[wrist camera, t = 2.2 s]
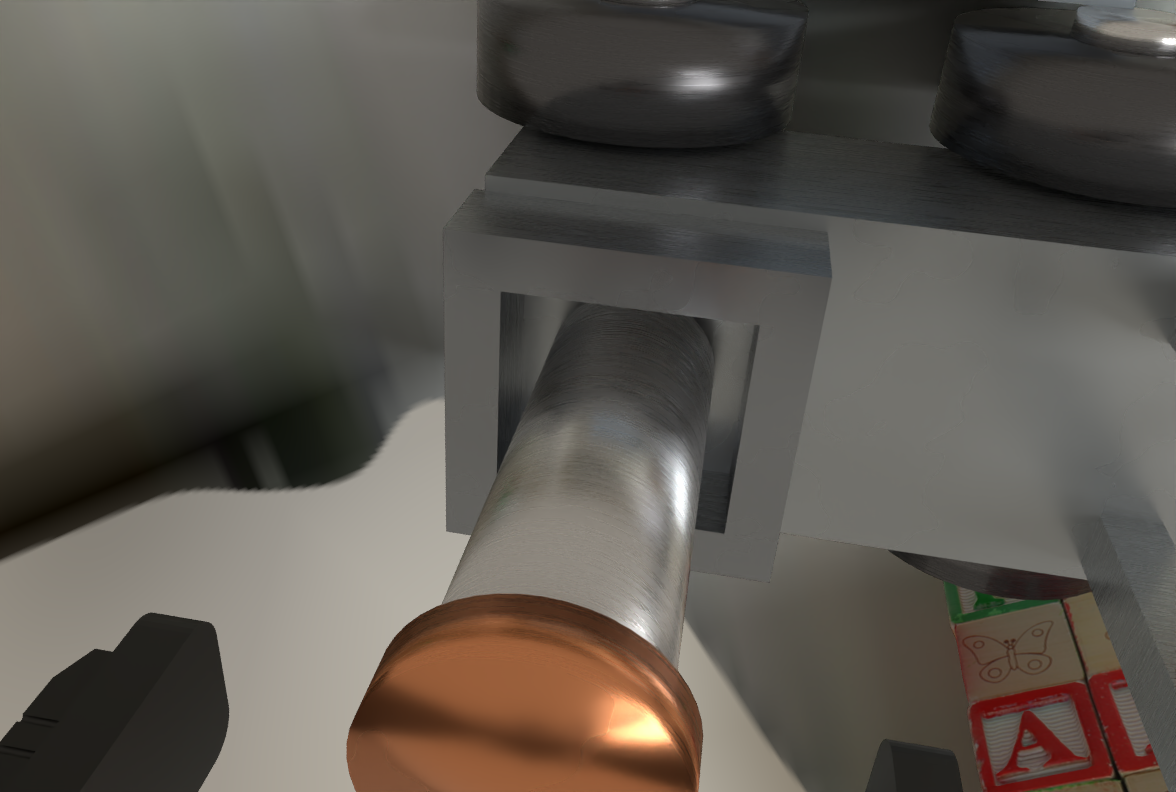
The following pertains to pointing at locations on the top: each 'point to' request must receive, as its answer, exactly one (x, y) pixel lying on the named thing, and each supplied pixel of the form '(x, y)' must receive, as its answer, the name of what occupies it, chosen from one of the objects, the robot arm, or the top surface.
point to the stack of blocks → (1048, 697)
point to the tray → (1101, 3)
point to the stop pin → (564, 588)
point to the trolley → (856, 291)
